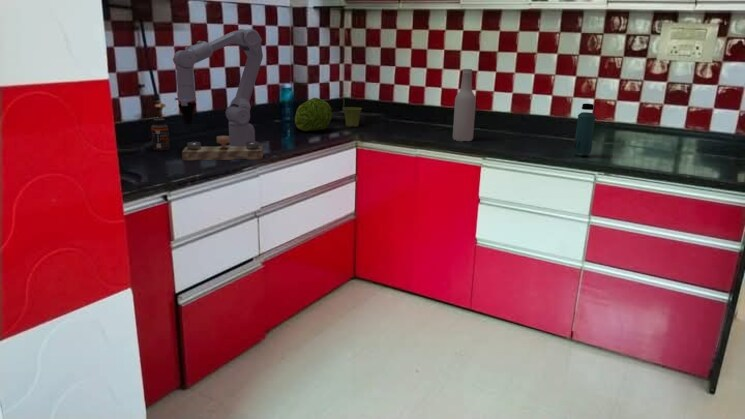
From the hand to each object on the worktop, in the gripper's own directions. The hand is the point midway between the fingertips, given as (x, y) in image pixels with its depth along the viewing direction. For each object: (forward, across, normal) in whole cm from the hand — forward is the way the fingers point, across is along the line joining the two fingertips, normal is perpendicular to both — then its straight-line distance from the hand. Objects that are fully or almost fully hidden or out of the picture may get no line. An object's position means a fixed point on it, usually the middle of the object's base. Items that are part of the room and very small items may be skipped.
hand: (188, 123), depth 203 cm
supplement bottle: (+11, -6, -11) cm, 17 cm away
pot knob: (+7, +10, +13) cm, 18 cm away
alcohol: (+11, -20, +111) cm, 113 cm away
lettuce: (+11, -49, +47) cm, 69 cm away
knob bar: (+10, +10, +13) cm, 19 cm away
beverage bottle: (+11, +16, +146) cm, 148 cm away
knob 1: (+10, +10, +3) cm, 14 cm away
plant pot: (+11, -61, +68) cm, 92 cm away
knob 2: (+10, +10, +23) cm, 27 cm away
